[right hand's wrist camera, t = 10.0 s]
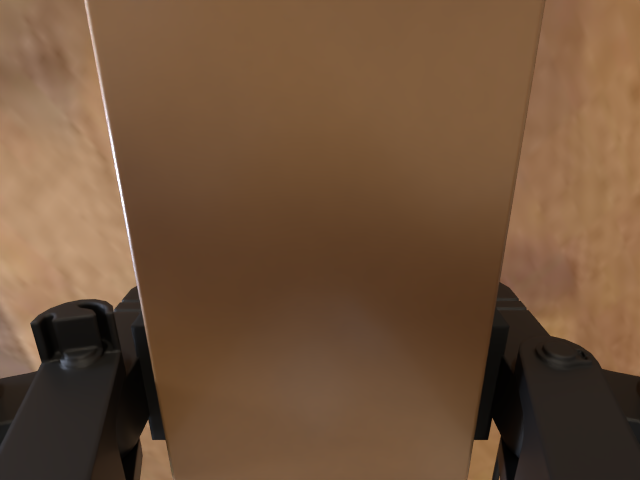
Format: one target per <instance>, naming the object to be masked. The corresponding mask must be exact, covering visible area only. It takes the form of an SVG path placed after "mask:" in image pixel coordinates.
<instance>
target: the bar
mask: <svg viewBox="0 0 640 480" xmlns="http://www.w3.org/2000/svg"><path fill="white" fill-rule="evenodd" d="M84 2H85V7H86V13H87V18H88V24H89V29H90V34H91V40H92V45H93V51H94V56H95V61H96V67H97V72H98V78H99V83H100V88H101V94H102V99H103V104H104V110H105V115H106V121H107V126H108V131H109V137H110V142H111V148H112V153H113V158H114V164H115V169H116V175H117V180H118V185H119V191H120V196H121V202H122V207H123V212H124V218H125V223H126V229H127V234H128V239H129V245H130V250H131V255H132V261H133V266H134V272H135V277H136V282H137V288H138V293H139V299H140V304H141V309H142V315H143V320H144V326H145V331H146V336H147V342H148V347H149V353H150V358H151V363H152V369H153V374H154V380H155V385H156V390H157V396H158V401H159V406H160V412H161V417H162V423H163V428H164V433H165V439H166V444H167V450H168V455H169V460H170V466H171V471H172V477H173V480H467V478H468V472H469V466H470V460H471V453H472V447H473V441H474V435H475V429H476V423H477V417H478V411H479V404H480V398H481V392H482V386H483V380H484V374H485V368H486V362H487V355H488V349H489V343H490V337H491V331H492V325H493V319H494V312H495V306H496V300H497V294H498V288H499V282H500V276H501V270H502V263H503V257H504V251H505V245H506V239H507V233H508V227H509V221H510V214H511V208H512V202H513V196H514V190H515V184H516V178H517V171H518V165H519V159H520V153H521V147H522V141H523V135H524V129H525V122H526V116H527V110H528V104H529V98H530V92H531V86H532V80H533V73H534V67H535V61H536V55H537V49H538V43H539V37H540V30H541V24H542V18H543V12H544V6H545V0H84Z"/></svg>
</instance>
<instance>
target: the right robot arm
mask: <svg viewBox="0 0 640 480" xmlns="http://www.w3.org/2000/svg"><path fill="white" fill-rule="evenodd" d="M30 324H31V328H32V331H33V334H34V338H35V341H36V345H37V348H38V352H39V355H40V359H41V362H42V363H41V365H40V367H39V369H38V371H36V372H32V373H27V374H22V375H17V376H12V377H7V378H2V379H0V480H140V474H141V466H142V457H143V454H142V448H141V443H140V438H139V437H140V435H141V433H142V431H143V429H144V427H145V425H146V423H147V421H148V420H149V425H150V430H151V435H152V440H166V439H165V433H164V428H163V423H162V417H161V412H160V406H159V401H158V396H157V390H156V385H155V380H154V374H153V369H152V363H151V358H150V353H149V347H148V342H147V336H146V331H145V326H144V320H143V315H142V309H141V304H140V299H139V293H138V288H137V286H136V287H134V288H133V289H131V290H130V291H129V293H128V294H127V295H126V296H125V297H124V298H123V300H122V302H120V303H119V304H118V306H117V307H116V308H115V309H114V311H113V306H112V305H111V304H109V303H108V302H106V301H102V300H97V299H87V300H77V301H72V302H67V303H64V304H61V305H58V306H55V307H53V308H50V309H48V310H47V311H45V312H43V313H41V314H40V315H38V316H37V317H36V318H35V319H34V320H33V321H32V322H31V323H30ZM492 418H493V420H494V422H495V424H496V426H497V428H498V430H499V432H500V434H501V438H500V443H499V448H498V452H497V457H496V462H495V467H494V472H493V478H492V480H499V476H500V480H640V377H639V376H633V375H628V374H623V373H618V372H613V371H608V370H604V369H602V368H601V366H600V364H599V362H598V361H597V360H596V359H595V358H594V356H593V355H592V354H591V353H590V352H588V351H587V350H585V349H584V348H582V347H581V346H579V345H577V344H575V343H572V342H570V341H568V340H565V339H561V338H557V337H552V336H550V335H549V334H548V333H547V331H546V330H545V329H544V328H543V327H542V326H541V324H540V323H539V322H538V321H537V320H536V319H535V317H534V316H533V315H532V314H531V313H530V312H529V310H526V307H525V306H524V304H523V303H522V302H521V301H519V299H518V297H517V296H516V295H515V294H514V293H513V292H512V290H511V289H510V288H509V287H507V286H505V285H504V284H502V283H500V282H499V288H498V294H497V300H496V306H495V312H494V319H493V325H492V331H491V337H490V343H489V349H488V355H487V362H486V368H485V374H484V380H483V386H482V392H481V398H480V404H479V411H478V417H477V423H476V429H475V435H474V440H488V437H489V432H490V427H491V421H492Z"/></svg>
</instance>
